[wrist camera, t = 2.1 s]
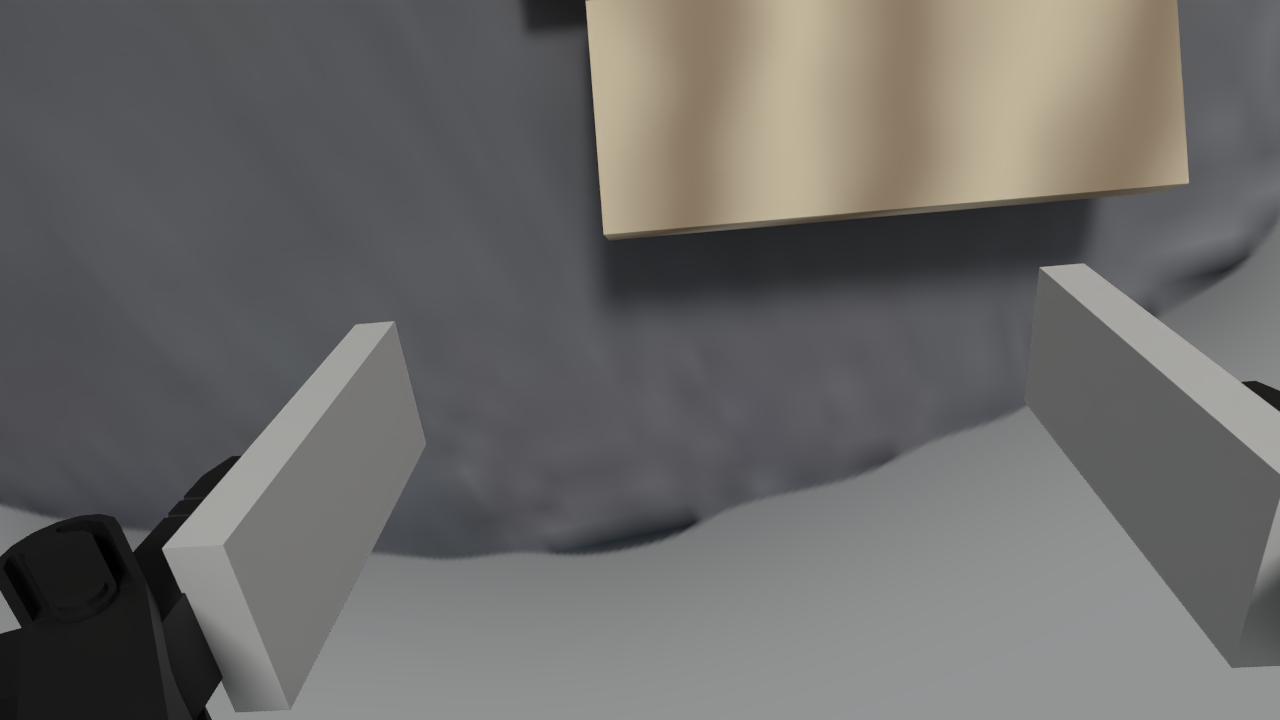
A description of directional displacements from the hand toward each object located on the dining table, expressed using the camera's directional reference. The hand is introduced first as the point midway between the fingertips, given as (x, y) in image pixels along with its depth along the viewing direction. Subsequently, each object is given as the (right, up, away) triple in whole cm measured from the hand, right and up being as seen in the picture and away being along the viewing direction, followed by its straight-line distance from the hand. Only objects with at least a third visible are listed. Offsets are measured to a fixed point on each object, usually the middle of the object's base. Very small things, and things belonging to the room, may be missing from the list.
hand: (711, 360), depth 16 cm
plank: (+6, +9, +12) cm, 16 cm away
